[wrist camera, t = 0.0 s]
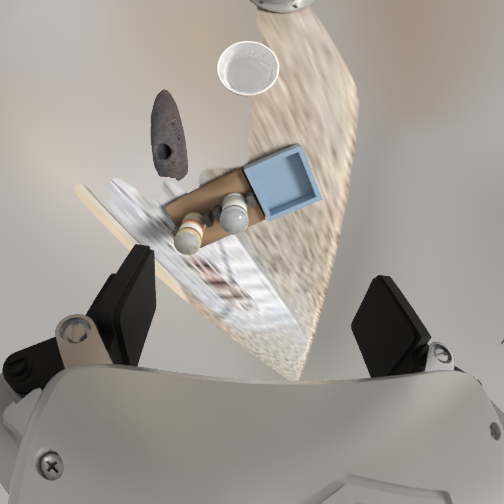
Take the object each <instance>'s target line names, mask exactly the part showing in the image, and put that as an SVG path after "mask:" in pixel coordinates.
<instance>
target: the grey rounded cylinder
mask: <svg viewBox="0 0 504 504" xmlns="http://www.w3.org/2000/svg"><path fill="white" fill-rule="evenodd" d="M220 226H221V228H222V229H223V230H224V231H225V232H226V233H228V234H232V235H236V234H240V233H242V232H243V231H245V229H246V228H247V226H248V214H247V199H246V197H245V196H244V195H243V194H241V193H239V192H231V193H229V194H227V195H226V196H225V198H224V200H223V204H222V212H221V215H220Z"/></svg>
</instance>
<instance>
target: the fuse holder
mask: <svg viewBox="0 0 504 504" xmlns="http://www.w3.org/2000/svg"><path fill="white" fill-rule="evenodd" d="M231 192H239V193H241V194H243V195H244V196H245V197H246V199H247V214H248V226H247V227H249V226H251V225H254V224H256V223H258V222H261V221H263V220H265V216H264V214H263V212H262V210H261V208H260V206H259V203H258V201H257V199H256V197H255V195H254V193H253V191H252V189H251V187H250V185H249V183H248V181H247V179H246V177H245V175H244V173H243V171H242V169H241V168H239V169H237V170H235V171H233V172H230V173H228V174H226V175H224V176H222V177H220V178H218V179H216V180H214V181H212V182H210V183H208V184H206V185H204V186H202V187H200V188H198V189H196V190H194V191H192V192H190V193H188V194H186V195H184V196H182V197H180V198H178V199H176V200H174V201H173V202H171V203H169V204H167V205H166V206H165V209H166V210H167V212H168V214H169V215H170V217H171V219H172V220H173V222H174V224H175V225H176V226H175V228H174V230H173V232H172V233H173V235H174V237H175V236H176V234H177V232H178V231H179V228H180V226H181V224H182V221H183V219H184V217H185V216H186V214H188V213H189V212H192V211H196V212H200V213H201V214H203V217H202V219H203V221H204V222H205V224H206V228H205V230H204V234H203V237H202V242H201V246H200V248H202V247H204V246H206V245H208V244H211V243H213V242H215V241H217V240H220V239H222V238H224V237H226V236H229V235H231V234H228V233H226V232H225V231H224V230H223V229H222V228H221V226H220V215H221V212H222V204H223V200H224V198H225V196H226V195H227V194H229V193H231Z"/></svg>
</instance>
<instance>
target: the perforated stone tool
mask: <svg viewBox="0 0 504 504" xmlns="http://www.w3.org/2000/svg"><path fill="white" fill-rule="evenodd" d="M151 145H152V152H153V161H154V165H155V168H156V170H157V172H158V174H159V176H162V177H163V176H164V177H171V178H176V179H177V180H178V181H179V180H181V179H182V178H183V177H184V176H185V175H186V174H187V172H188V162H187V161H188V160H187V150H186V142H185V136H184V131H183V127H182V122H181V119H180V115H179V111H178V108H177V105H176V103H175V101H174V99H173V97H172V96H171V94H170V93H169V92H168V91H167V90H162V91H161V92H160V93H159V94H158V95H157V97H156V99H155V102H154V106H153V110H152V114H151Z"/></svg>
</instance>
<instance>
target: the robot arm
mask: <svg viewBox="0 0 504 504" xmlns="http://www.w3.org/2000/svg"><path fill="white" fill-rule="evenodd" d="M250 1H251V2H253V3H254V4H255V5H257V6H258V7H260V8H262V9H265V10H268V11H272V12H277V13H292V12H297V11H300V10H302V9H304V8H306V7H308V6H309V5H310V4H311V3H312V2H313V1H314V0H250ZM260 3H263V4H260ZM293 7H295V8H296V9H295V8H293ZM155 309H156V291H155V261H154V250H150V247H149V246H145V245H138V244H135V245H134V247H133V248H132V250H131V251H130V253H129V255H128V256H127V257H126V259H125V260H124V262H123V264H122V265H121V267H120V268H119V270H118V272H117V273H116V274H114V273H113V274H111V275H110V276H109V278H108V279H107V281H106V282H105V284H104V286H103V287H102V289H101V290H100V292H99V294H98V295H97V297H96V299H95V300H94V302H93V304H92V305H91V307H90V309H89V310H88V312H87V314H86V315H82V314H75V315H70V316H67V317H65V318H64V319H62V320H61V321H60V322H59V324H58V325H57V327H56V330H55V336H56V337H54V338H51V339H49V340H46V341H43V342H41V343H38V344H36V345H33V346H30V347H28V348H25V349H23V350H20V351H17V352H15V353H13V354H11V355H10V356H9V357H8V358H7V359H6V361H5V362H4V365H3V373H1V374H0V483H1V484H2V486H3V487H4V488H5V490H6V491H7V492H8V494H9V501H8V504H504V413H503V412H502V411H501V410H500V409H499V408H498V407H497V406H496V405H495V404H494V403H493V402H492V401H491V400H490V399H489V397H488V395H487V394H486V392H485V390H484V389H483V387H482V385H481V383H480V381H479V380H477V379H476V378H475V377H473V376H472V375H470V374H467V373H465V372H464V371H462V370H460V369H459V368H457V367H455V366H454V362H455V360H454V355H453V354H452V351H451V350H450V349H449V348H448V347H447V346H446V345H444V344H443V343H440V342H433V343H431V344H430V345H428V344H427V343H428V341H429V340H430V339H431V336H430V334H429V332H428V331H427V329H426V328H425V326H424V325H423V323H422V322H421V320H420V319H419V317H418V315H417V314H416V313H415V311H414V309H413V308H412V307H411V305H410V304H409V302H408V301H407V299H406V298H405V297H404V295H403V294H402V292H401V291H400V289H399V288H398V287H397V285H396V284H395V283H394V281H393V280H392V278H391V277H390V276H383V275H378V276H377V277H376V278H374V279H373V280H372V282H371V284H370V286H369V289H368V291H367V293H366V295H365V297H364V299H363V301H362V303H361V305H360V307H359V309H358V312H357V313H356V315H355V317H354V319H353V321H352V325H351V329H352V331H353V334H354V336H355V339H356V341H357V344H358V346H359V349H360V351H361V353H362V356H363V358H364V361H365V364H366V366H367V368H368V371H369V374H370V376H371V378H364V379H351V380H330V381H329V380H328V381H270V380H249V379H248V380H247V379H234V378H222V377H212V376H203V375H194V374H186V373H178V372H170V371H164V370H158V369H151V368H144V367H137V366H138V362H139V359H140V356H141V352H142V349H143V346H144V343H145V340H146V337H147V334H148V331H149V328H150V325H151V322H152V319H153V316H154V313H155Z"/></svg>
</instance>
